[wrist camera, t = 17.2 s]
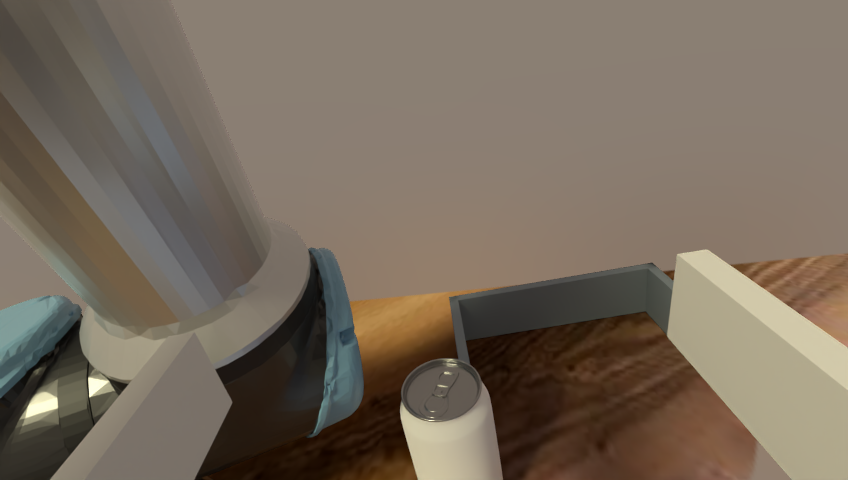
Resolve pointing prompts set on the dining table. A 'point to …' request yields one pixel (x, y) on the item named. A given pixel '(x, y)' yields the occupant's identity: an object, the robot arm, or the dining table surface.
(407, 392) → the can
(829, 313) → the dining table surface
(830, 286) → the dining table surface
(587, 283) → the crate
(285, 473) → the dining table surface
